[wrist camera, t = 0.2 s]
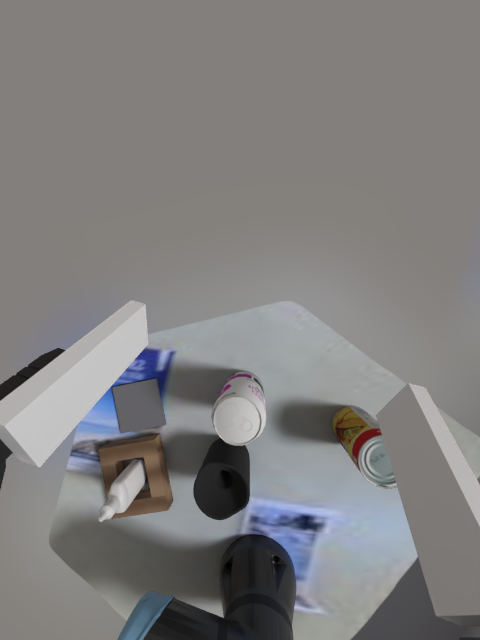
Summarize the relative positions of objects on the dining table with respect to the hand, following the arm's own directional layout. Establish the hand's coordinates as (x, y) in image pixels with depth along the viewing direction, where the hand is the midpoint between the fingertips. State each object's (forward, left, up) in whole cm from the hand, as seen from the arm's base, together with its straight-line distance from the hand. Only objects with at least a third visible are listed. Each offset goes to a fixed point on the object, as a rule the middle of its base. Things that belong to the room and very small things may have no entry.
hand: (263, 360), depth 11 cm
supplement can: (-11, +6, -36) cm, 38 cm away
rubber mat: (-10, +29, -36) cm, 47 cm away
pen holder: (-24, +12, -36) cm, 45 cm away
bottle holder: (-24, +32, -36) cm, 53 cm away
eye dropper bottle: (-24, +32, -36) cm, 54 cm away
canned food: (-22, -14, -36) cm, 45 cm away
